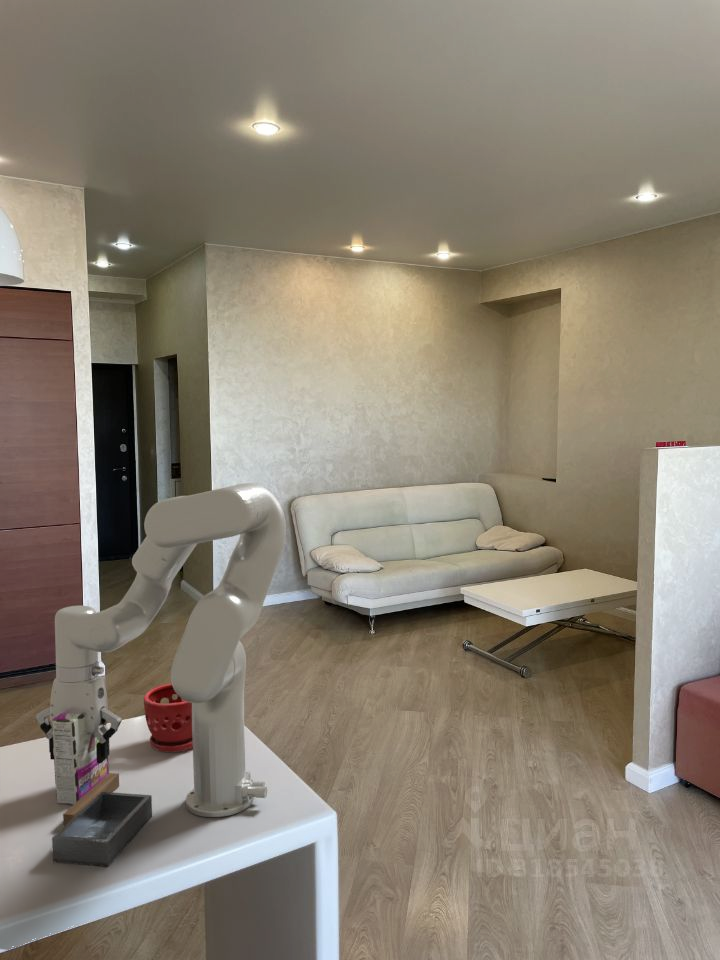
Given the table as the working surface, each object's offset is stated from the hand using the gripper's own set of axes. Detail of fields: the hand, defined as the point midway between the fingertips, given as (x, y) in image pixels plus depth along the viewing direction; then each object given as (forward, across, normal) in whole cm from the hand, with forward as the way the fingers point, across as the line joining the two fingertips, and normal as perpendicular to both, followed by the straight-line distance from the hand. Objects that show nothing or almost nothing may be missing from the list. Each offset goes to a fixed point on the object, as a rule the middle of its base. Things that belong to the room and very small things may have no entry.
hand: (79, 758), depth 143 cm
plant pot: (+6, -10, -23) cm, 26 cm away
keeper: (+6, -14, +15) cm, 21 cm away
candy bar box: (+7, 0, 0) cm, 7 cm away
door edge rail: (+6, -6, +5) cm, 10 cm away
